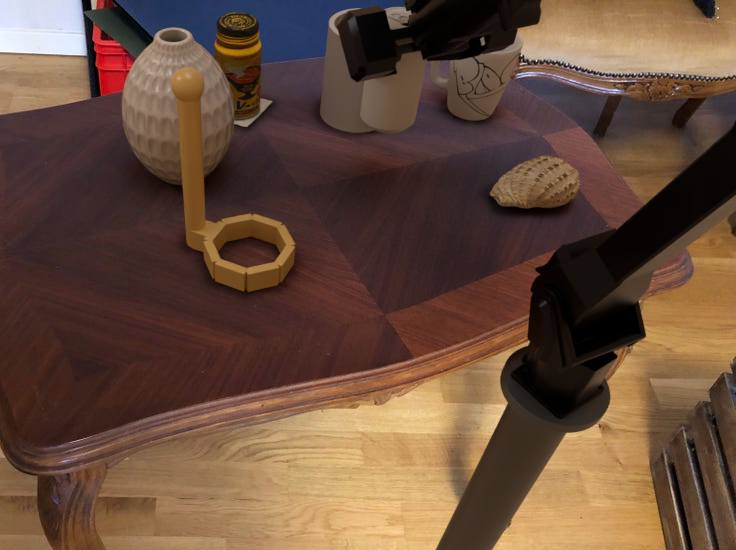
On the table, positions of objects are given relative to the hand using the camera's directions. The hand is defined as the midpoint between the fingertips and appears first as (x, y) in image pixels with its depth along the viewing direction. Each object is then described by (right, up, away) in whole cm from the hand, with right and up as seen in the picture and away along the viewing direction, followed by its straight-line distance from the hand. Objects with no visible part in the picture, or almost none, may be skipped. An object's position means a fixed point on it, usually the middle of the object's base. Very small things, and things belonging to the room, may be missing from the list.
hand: (389, 61), depth 79 cm
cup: (-2, 0, +18) cm, 18 cm away
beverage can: (0, -5, +4) cm, 7 cm away
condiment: (-18, +1, +18) cm, 26 cm away
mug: (+13, +2, +20) cm, 24 cm away
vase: (-24, -10, +8) cm, 27 cm away
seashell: (+18, -14, +6) cm, 24 cm away
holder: (-17, -22, -1) cm, 28 cm away
